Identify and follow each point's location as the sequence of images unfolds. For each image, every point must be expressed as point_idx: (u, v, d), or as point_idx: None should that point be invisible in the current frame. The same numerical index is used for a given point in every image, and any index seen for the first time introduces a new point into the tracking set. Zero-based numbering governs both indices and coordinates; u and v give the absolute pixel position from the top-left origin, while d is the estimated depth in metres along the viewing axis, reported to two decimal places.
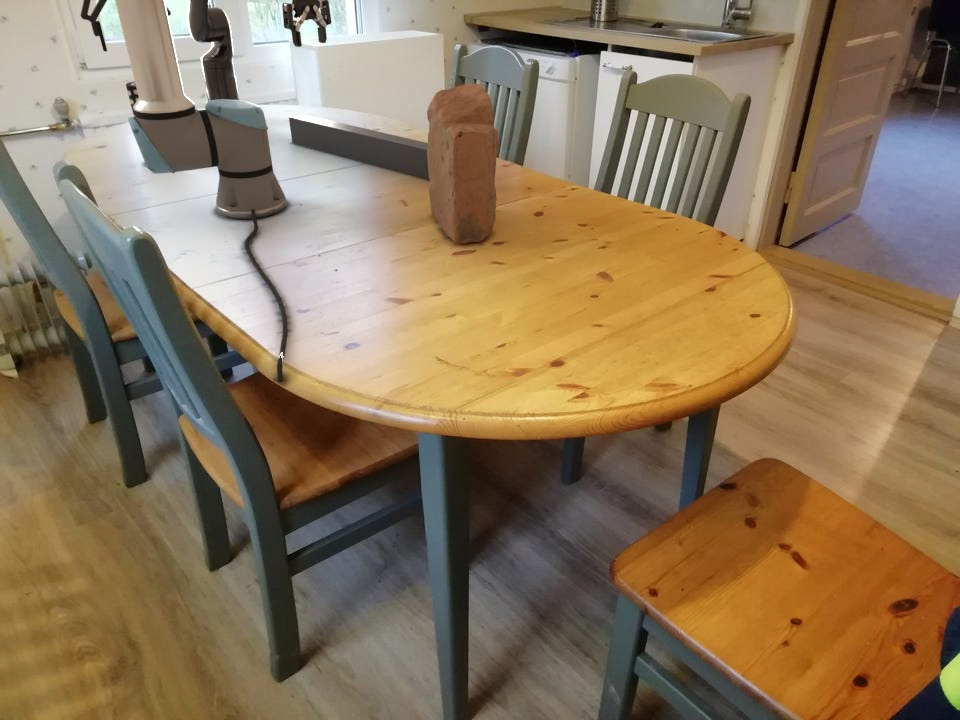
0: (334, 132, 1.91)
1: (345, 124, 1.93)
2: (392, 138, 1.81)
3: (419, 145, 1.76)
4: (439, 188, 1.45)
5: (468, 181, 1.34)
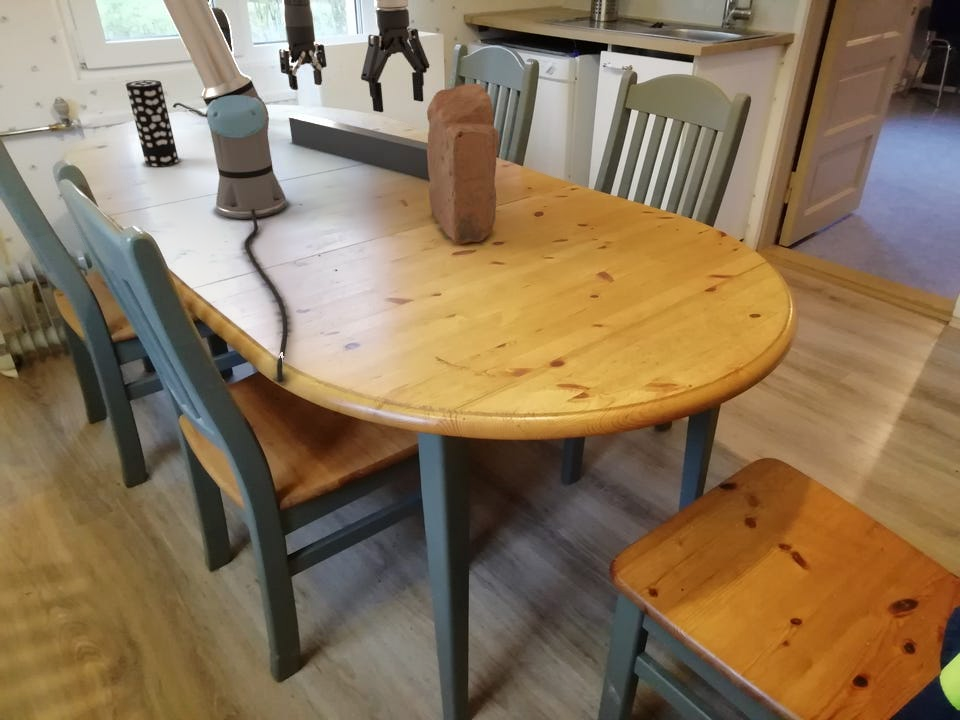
0: (334, 132, 1.91)
1: (345, 124, 1.93)
2: (392, 138, 1.81)
3: (419, 145, 1.76)
4: (439, 188, 1.45)
5: (468, 181, 1.34)
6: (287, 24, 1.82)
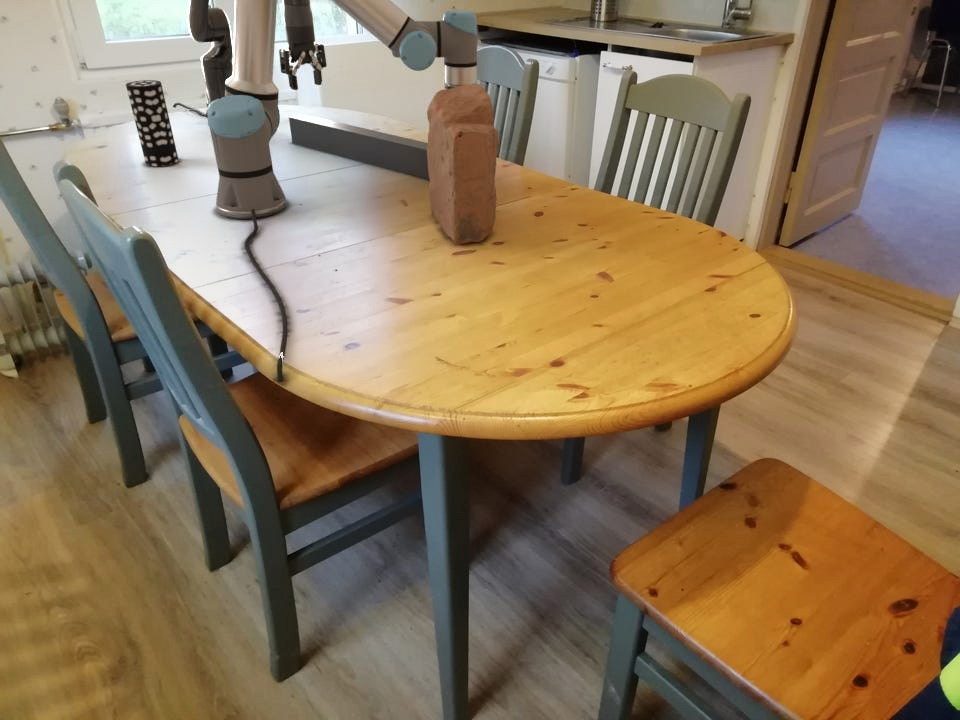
0: (334, 132, 1.91)
1: (345, 124, 1.93)
2: (392, 138, 1.81)
3: (419, 145, 1.76)
4: (439, 188, 1.45)
5: (468, 181, 1.34)
6: (287, 24, 1.82)
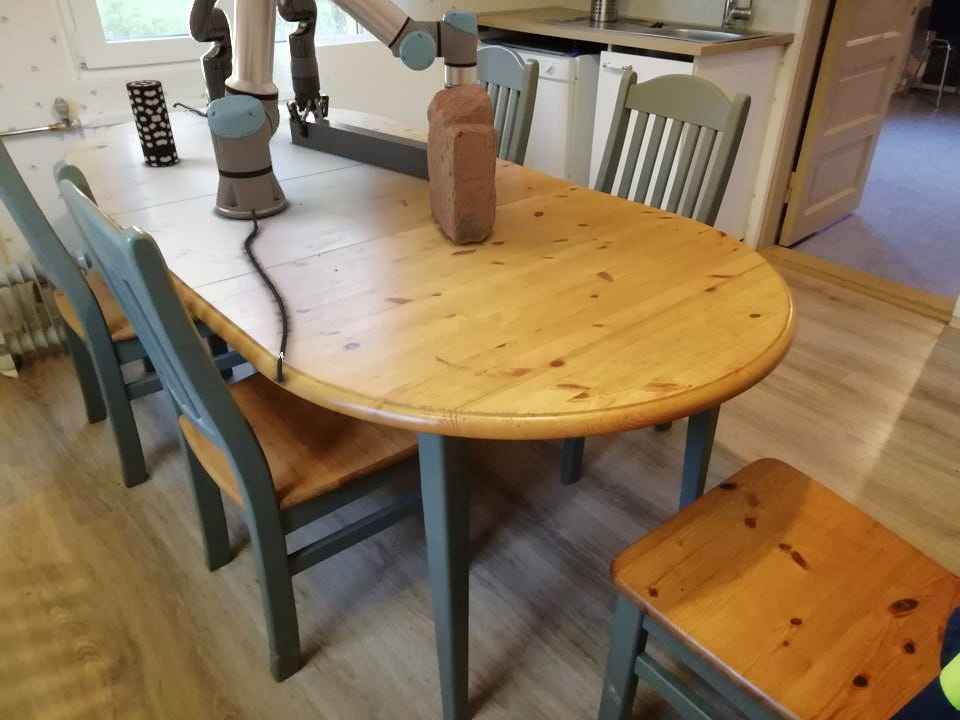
0: (334, 132, 1.91)
1: (345, 124, 1.93)
2: (392, 138, 1.81)
3: (419, 145, 1.76)
4: (439, 188, 1.45)
5: (468, 181, 1.34)
6: (293, 75, 1.89)
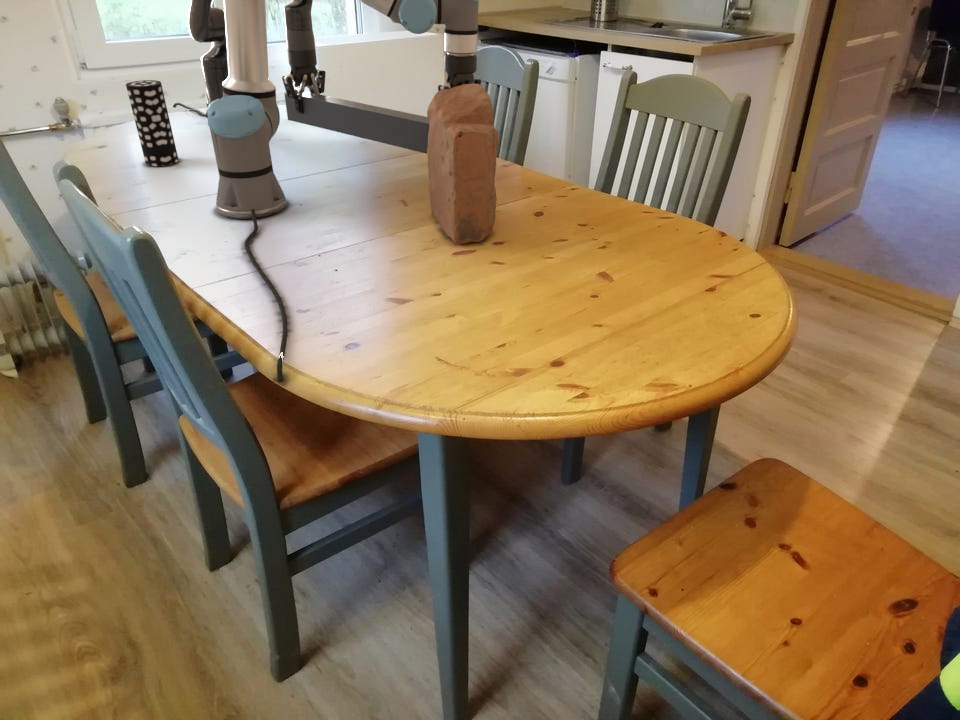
0: (330, 107, 1.87)
1: (341, 99, 1.89)
2: (389, 112, 1.78)
3: (417, 118, 1.72)
4: (439, 188, 1.45)
5: (468, 181, 1.34)
6: (289, 48, 1.85)
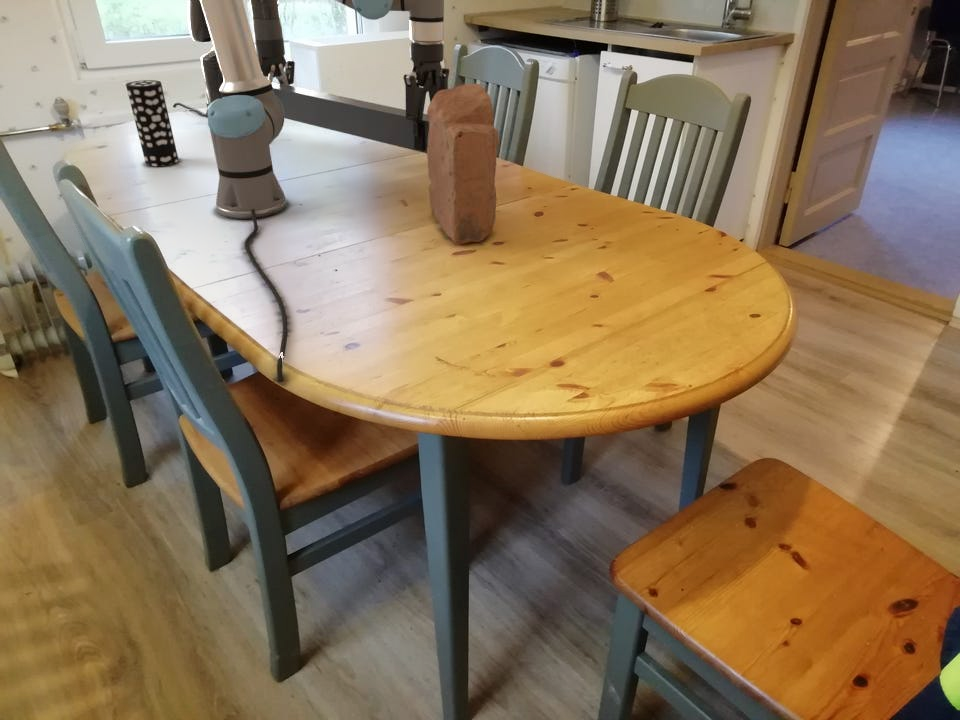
0: (298, 98, 1.82)
1: (310, 90, 1.85)
2: (357, 103, 1.73)
3: (385, 109, 1.68)
4: (439, 188, 1.45)
5: (468, 181, 1.34)
6: (256, 37, 1.80)
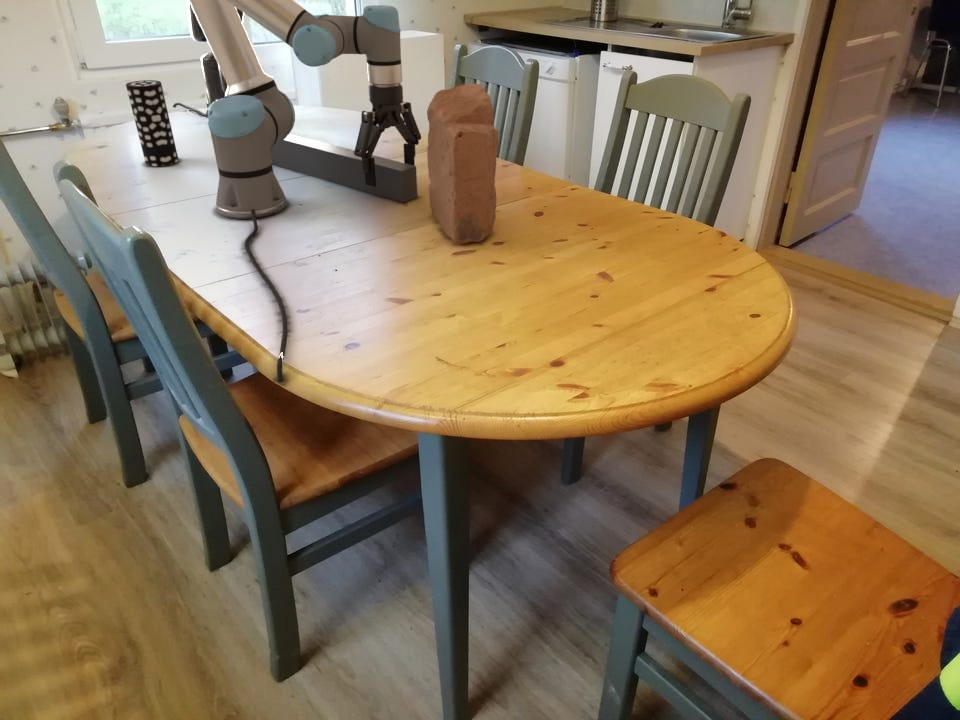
0: None
1: None
2: (321, 146, 1.74)
3: (348, 153, 1.69)
4: (439, 188, 1.45)
5: (468, 181, 1.34)
6: (222, 74, 1.81)
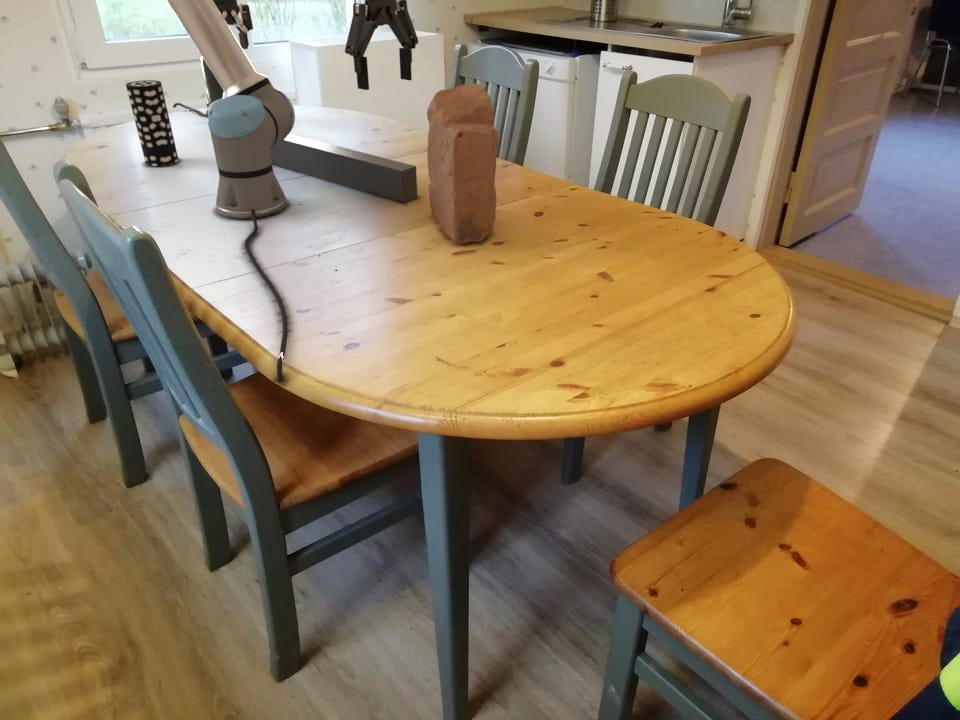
0: None
1: None
2: (321, 146, 1.74)
3: (348, 153, 1.69)
4: (439, 188, 1.45)
5: (468, 181, 1.34)
6: None
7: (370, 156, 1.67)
